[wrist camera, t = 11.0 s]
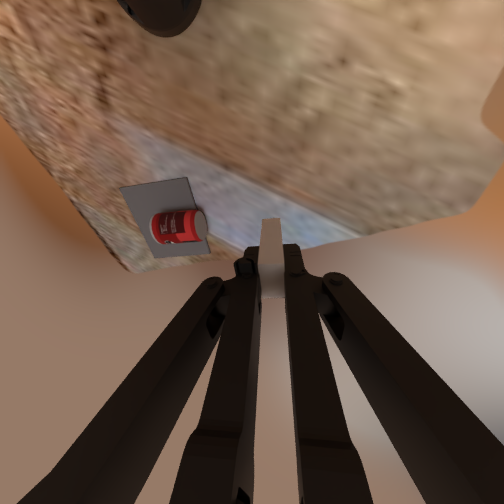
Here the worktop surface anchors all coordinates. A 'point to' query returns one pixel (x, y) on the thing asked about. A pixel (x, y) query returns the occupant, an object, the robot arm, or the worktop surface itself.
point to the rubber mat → (161, 201)
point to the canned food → (178, 227)
